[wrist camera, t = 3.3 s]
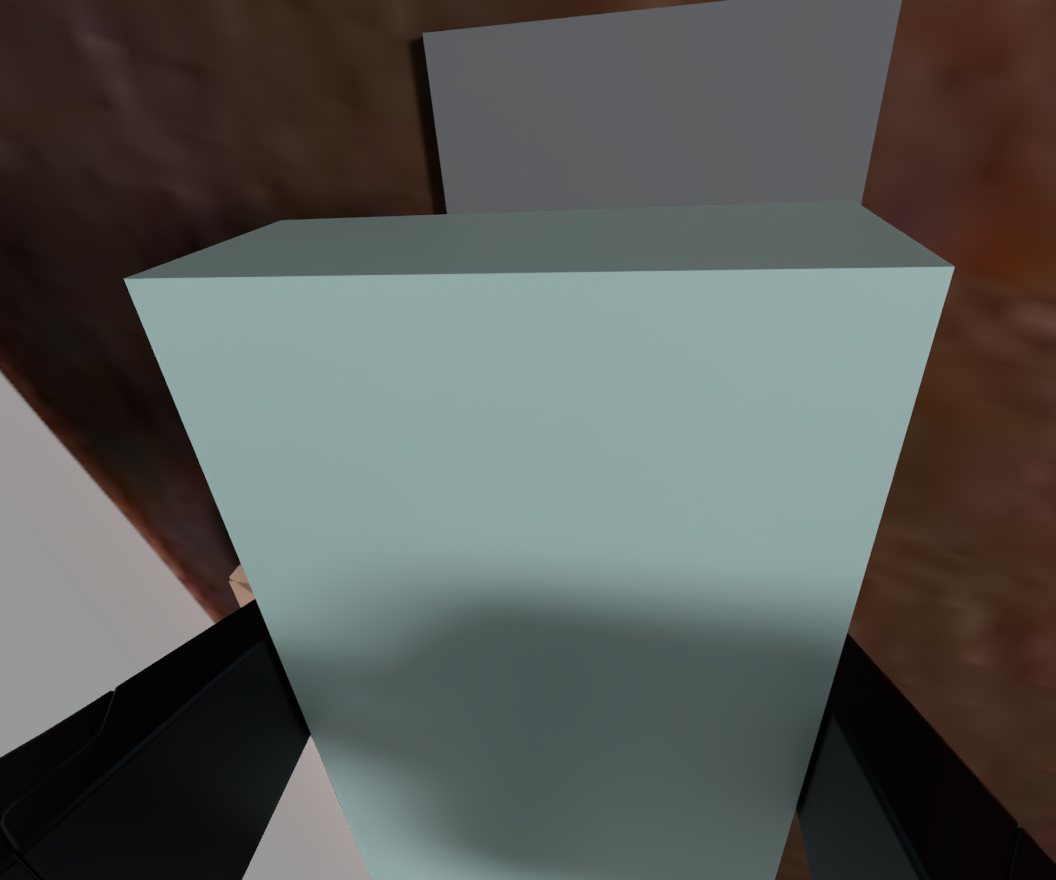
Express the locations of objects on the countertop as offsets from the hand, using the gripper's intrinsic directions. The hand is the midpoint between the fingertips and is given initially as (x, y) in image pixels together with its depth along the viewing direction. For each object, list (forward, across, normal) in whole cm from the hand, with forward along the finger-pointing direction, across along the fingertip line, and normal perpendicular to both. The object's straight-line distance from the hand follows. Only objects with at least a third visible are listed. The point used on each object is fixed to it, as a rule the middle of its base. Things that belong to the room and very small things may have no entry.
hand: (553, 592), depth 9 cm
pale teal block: (0, 0, 0) cm, 0 cm away
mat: (+10, -1, -1) cm, 10 cm away
